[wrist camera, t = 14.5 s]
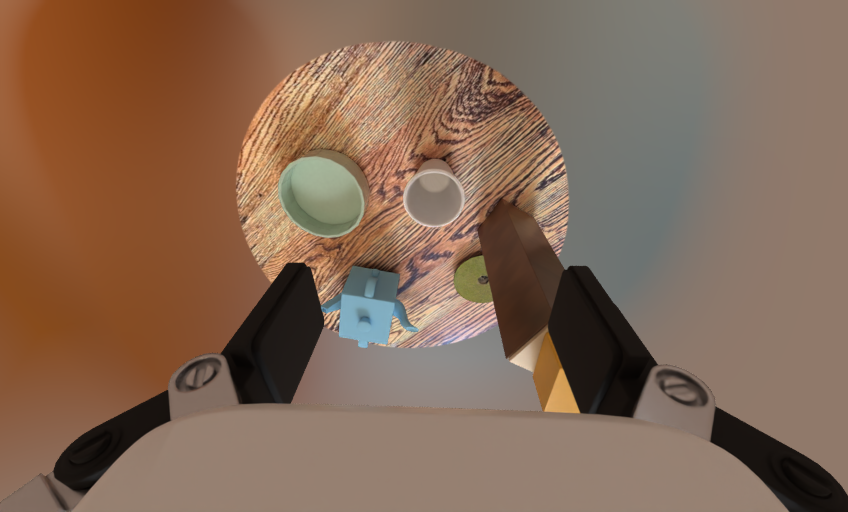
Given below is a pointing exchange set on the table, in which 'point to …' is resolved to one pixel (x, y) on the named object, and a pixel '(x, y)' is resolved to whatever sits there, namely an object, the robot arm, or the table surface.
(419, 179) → the dixie cup
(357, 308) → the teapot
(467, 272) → the mat
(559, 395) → the yellow rectangular block
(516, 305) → the stand
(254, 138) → the table surface
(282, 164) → the table surface
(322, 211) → the bowl
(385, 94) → the table surface
